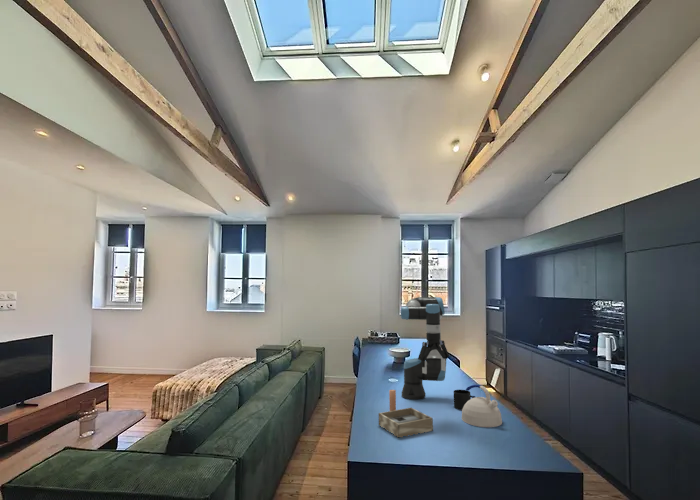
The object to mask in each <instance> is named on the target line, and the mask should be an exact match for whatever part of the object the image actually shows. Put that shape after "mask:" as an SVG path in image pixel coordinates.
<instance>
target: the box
mask: <svg viewBox="0 0 700 500" xmlns="http://www.w3.org/2000/svg"><path fill="white" fill-rule="evenodd" d="M433 421H434V419H433V417H431V416H429V415H428V414H425V413H424V412H422V411H419V410H417V409H416V408H413V407H407V408H401V409H396V410H394V411H390V410H389V411H384V412H378V426H379V425H380V426H381V428H382V427H383V428H385V429H386V430H385V429H384V430H385V431H387V430H388V431H389V432H388V431H387V432H388V433H390V432H391V433H393V434H394V435H393V434H392V435H393V436H395V437H396V436H397V437H396V438H398V437H401V438H404V437H403V436H406V437H409V436H408V435H410V436H414V435H413V434H415V435H419V434H418V433H420V434H425V433H429V432H432V431H433V432H434V422H433ZM380 426H379V427H380ZM383 428H382V429H383ZM424 432H425V433H424ZM391 433H390V434H391Z"/></svg>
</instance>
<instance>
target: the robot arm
mask: <svg viewBox="0 0 700 500" xmlns="http://www.w3.org/2000/svg"><path fill="white" fill-rule="evenodd" d="M444 315H445V307H444V300H443V298H442V297H437V296H417V297H414V298H411V299H409V300H408V301H407V302H406V305H405V306H401V307H400V319H402V320H421V321H423V320H424V321H425V322H426V323H425V327H426V329H425V330H426V333H425V334H426V341H423V342H422V343H421V344H422V346H421V349H420V351H419V354H418V357H417V358H409V359H406V360H404V362H403V386H402V391H401V398H403V399H406V400H410V401H411V400H413V401H417V400H423V399H425V398H426V391H425V388H424V385H423V381H432V382H442V381H443V382H444V381H445V379H446V373H447V371H446V370H447V360H448V358H449V357H450V354H449V352H448V349H447V347H446V342H445V341H444V340H442V336H441V329H442V328H441V319H443V316H444Z"/></svg>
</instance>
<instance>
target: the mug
mask: <svg viewBox="0 0 700 500" xmlns="http://www.w3.org/2000/svg"><path fill="white" fill-rule="evenodd" d="M472 396H473V395H471V391H470V390H469V391H468V390H466V389H454V390H453V407H454V409H456V410H461V411H462V409H463V407H464V405H465V404H466V402H467V401H469V400H470V399H472ZM473 398H475V397H473Z"/></svg>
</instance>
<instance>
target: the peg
mask: <svg viewBox="0 0 700 500" xmlns="http://www.w3.org/2000/svg"><path fill="white" fill-rule="evenodd" d="M388 391H389V393H388V394H389V398H388V399H389V411H394V410H397V400H396V399H397V397H396V396H397V392H396V391H397V390H396V389H389V390H388Z"/></svg>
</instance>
